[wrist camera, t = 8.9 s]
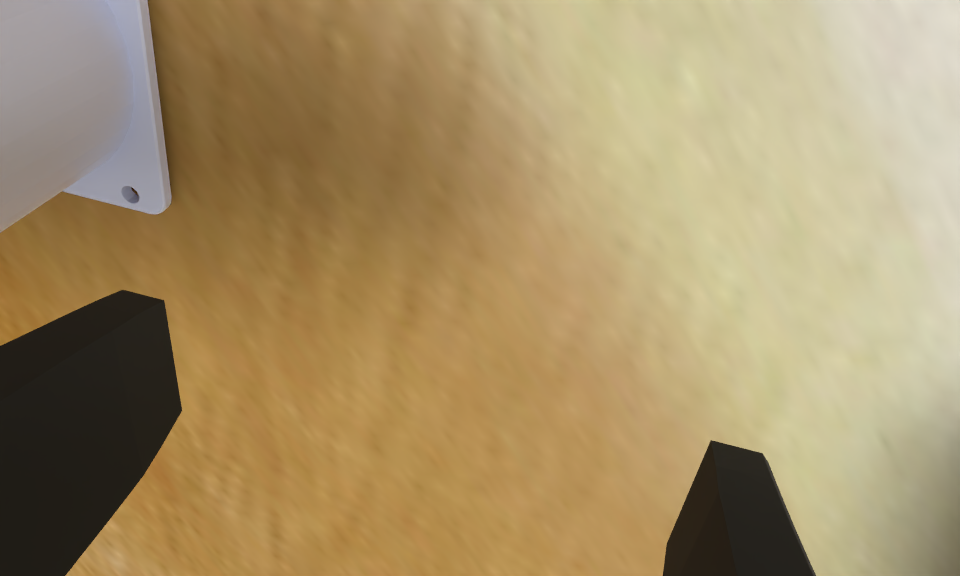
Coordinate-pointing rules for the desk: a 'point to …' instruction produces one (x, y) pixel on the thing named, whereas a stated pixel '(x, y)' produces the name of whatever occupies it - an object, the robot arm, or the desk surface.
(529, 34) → the desk surface
